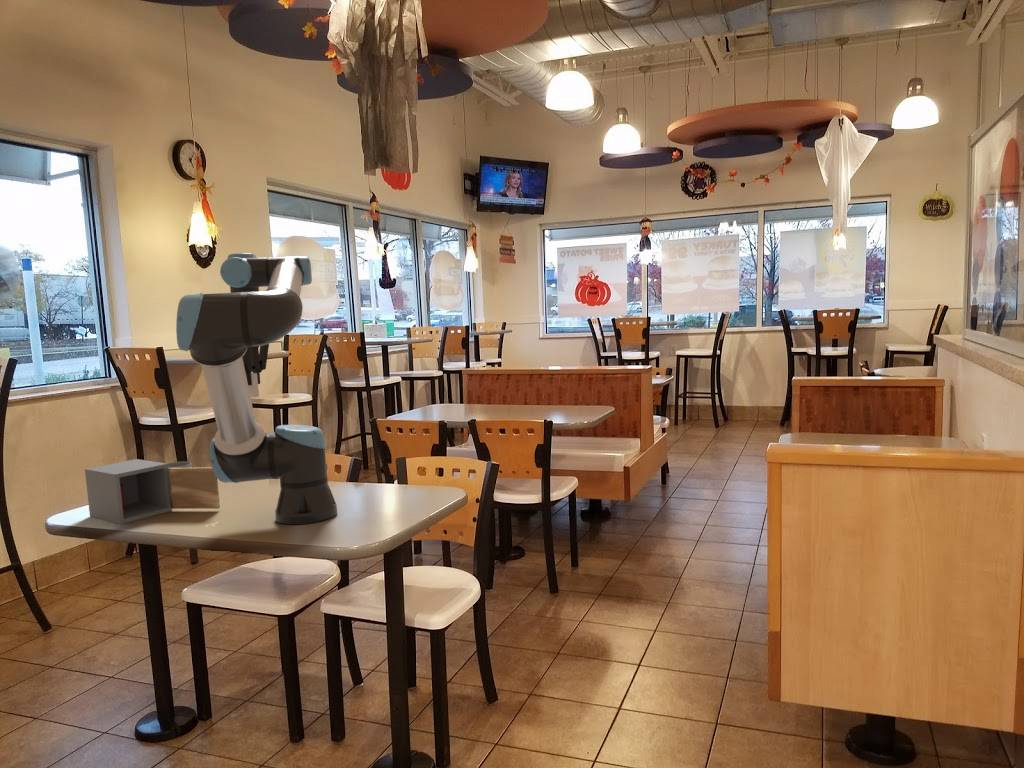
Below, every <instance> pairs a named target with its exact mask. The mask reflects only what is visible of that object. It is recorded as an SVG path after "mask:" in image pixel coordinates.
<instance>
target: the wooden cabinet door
mask: <svg viewBox="0 0 1024 768" xmlns="http://www.w3.org/2000/svg"><path fill="white" fill-rule="evenodd" d="M167 474H168V484H169V494H170V505H171V509H172V510H173V509H179V510H180V509H182V510H183V509H185V510H186V509H196V510H197V509H199V510H200V509H201V510H202V509H205V510H206V509H209V510H210V509H211V510H213V509H220V508H221V504H220V493H219V482H218V481H219V480H218V478H217V477H216V476H215V474H214V471H213V469H212V466H211V467H210V466H209V467H205V466H204V467H203V466H202V467H192V468H167Z"/></svg>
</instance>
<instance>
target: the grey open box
mask: <svg viewBox="0 0 1024 768" xmlns="http://www.w3.org/2000/svg"><path fill="white" fill-rule="evenodd" d="M167 468H168V464H167V463H166V462H158V461H153V460H152V461H151V460H146V459H145V460H144V459H140V458H139V459H138V458H136V459H130V460H126V461H120V462H114V463H110V464H104V465H99V466H94V467H89V468H84V474H85V484H86V491H87V503H88V511H89V517H90V518H94V519H98V520H102V521H106V522H108V523H109V522H110V523H114V524H118V525H123V524H127V523H131V522H135V521H139V520H141V519H142V520H143V519H146V518H149V517H153V516H157V515H161V514H166V513H168V512H172V511H173V509H171V505H170V494H169V484H168V474H167Z"/></svg>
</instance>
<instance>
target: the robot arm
mask: <svg viewBox="0 0 1024 768" xmlns="http://www.w3.org/2000/svg"><path fill="white" fill-rule="evenodd" d="M311 263H312V262H311V260H310V257H308V256H301V255H299V256H298V255H294V256H273V257H271V256H270V257H269V256H268V257H257V256H256V255H255V254H254V253H251V252H250V253H249V252H239V253H238V252H237V253H236V252H235V253H230V254H228V256H227V259H225V260H224V261H223V262H222V264H221V266H220V270H219V273H220V276H221V278H222V280H223V281H224V283H226V285H228V286H229V291H230V292H220V293H219V292H217V293H203V292H200V293H195V294H194V293H193V294H186V295H184V296H182V297H181V298H180V300H179V301H178V306H177V311H176V325H175V326H176V328H175V329H176V333H175V334H176V342H177V343H176V344H177V347H178V349H179V351H184V352H188V351H189V352H190V353H189V354H190V356H191V358H192V360H193V361H194V362H195V363H197V364H198V365H200V366H201V368H202V369H201V370H202V373H203V376H204V381H205V384H206V387H207V392H208V396H209V400H210V404H211V407H212V408H211V409H212V411H213V415H214V419H215V422H216V426H217V431H216V432H215V435H214V437H213V438H211V441H210V443H209V459H210V463H211V467H212V469H213V471H214V474H215V476H216V477H217V480H218V481H220V482H222V483H235V484H238V483H243V482H252V481H253V482H254V481H255V482H256V481H262V480H272V479H273V480H274V479H279V484H280V490H279V495H278V499H277V504H276V508H275V513H274V514H275V521H276V522H277V523H279V524H284V525H306V524H307V525H308V524H313V523H318V522H322V521H325V520H328V519H331V518H334V517H335V516H336V515H337V514H338V506H337V505H338V504H337V502H336V501H335V498H334V495H333V493H332V490H331V488H330V485H329V481H328V478H329V477H328V466H327V458H326V457H327V456H326V448H327V445H326V443H325V442H326V440H325V434H324V432H323V430H322V429H321V428H319V427H316V426H313V425H306V424H305V425H304V424H282V425H278V426H276V427H275V429H274V430H275V431H272V432H270V431H269V432H265V429H264V427H263V426H262V425H261V424H260V423H258V422H257V420H256V417H255V412H254V407H253V402H252V399H251V398H259V397H260V393H259V385H260V384H261V373H262V371H265V370H266V369H267V362H268V356H269V355H268V354H269V347H270V344H273V343H275V342H278V341H279V340H280V339H282V338H284V337H285V336H287V335H288V334H289V333H291V332H292V331H293V330H294V328H296V327H297V325H298V324H299V323H300V321H301V318H302V315H303V308H304V307H303V303H302V302H303V301H302V299H301V293H302V292H301V291H302V287H303V286H309V285H311V283H312V281H313V280H312V279H313V275H312V266H311V265H312V264H311ZM261 287H262V288H263V287H265V288H267V289H265V290H262V291H261V290H260V288H261Z"/></svg>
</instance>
